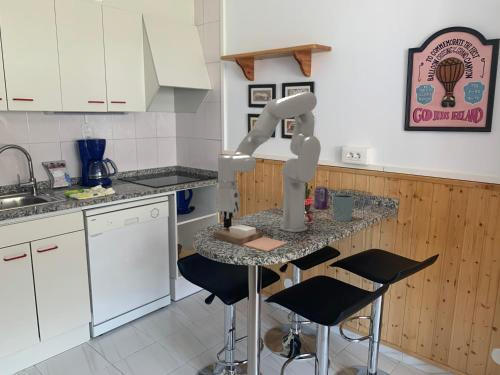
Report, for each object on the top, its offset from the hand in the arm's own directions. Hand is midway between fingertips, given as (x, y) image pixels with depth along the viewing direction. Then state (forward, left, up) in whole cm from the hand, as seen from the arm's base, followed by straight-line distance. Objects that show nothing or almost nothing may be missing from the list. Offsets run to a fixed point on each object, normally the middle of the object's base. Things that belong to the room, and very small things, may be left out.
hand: (227, 227), depth 166 cm
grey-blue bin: (-57, +24, -4) cm, 62 cm away
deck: (0, +6, -4) cm, 7 cm away
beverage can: (-72, +3, -4) cm, 72 cm away
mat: (0, +20, -4) cm, 20 cm away
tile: (0, +8, -1) cm, 9 cm away
